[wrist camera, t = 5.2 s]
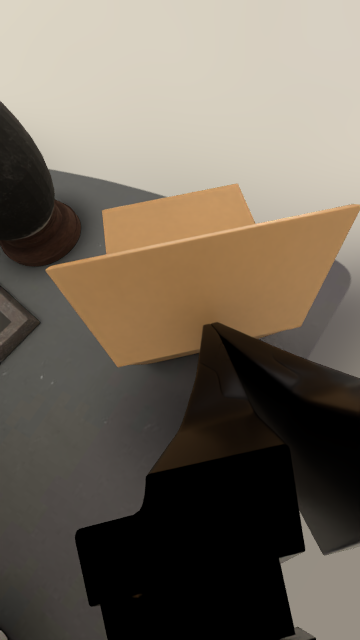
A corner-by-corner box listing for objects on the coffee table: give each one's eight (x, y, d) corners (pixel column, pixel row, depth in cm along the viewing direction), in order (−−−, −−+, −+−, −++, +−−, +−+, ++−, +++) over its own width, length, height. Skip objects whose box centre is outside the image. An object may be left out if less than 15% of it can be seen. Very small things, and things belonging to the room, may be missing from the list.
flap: (296, 322, 10) (301, 326, 10) (118, 362, 10) (117, 367, 10) (352, 203, 6) (363, 204, 6) (49, 265, 6) (43, 270, 5)
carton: (249, 341, 18) (301, 324, 10) (147, 364, 18) (116, 365, 10) (218, 249, 21) (238, 182, 13) (133, 267, 21) (101, 209, 13)
